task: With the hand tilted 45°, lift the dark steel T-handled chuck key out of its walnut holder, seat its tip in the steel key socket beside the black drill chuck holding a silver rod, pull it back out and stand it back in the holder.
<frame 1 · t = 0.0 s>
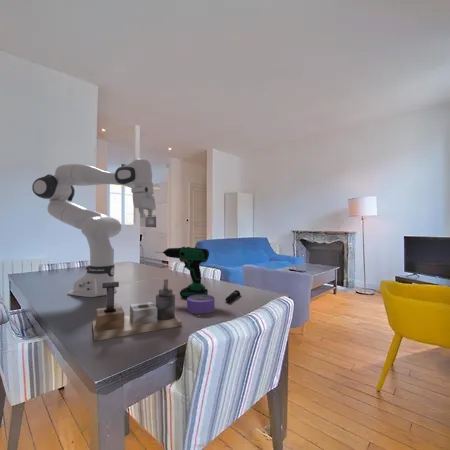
hand: (146, 218, 133), 39 cm above the table, tool pointing down, fingers open, 8 cm apart
tape roll: (200, 310, 112), on the table
chuck key: (109, 319, 89), point 3 cm above the table, touching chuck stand
electric trimmer: (233, 299, 129), on the table
power drill: (179, 296, 132), on the table
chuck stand: (137, 325, 93), on the table
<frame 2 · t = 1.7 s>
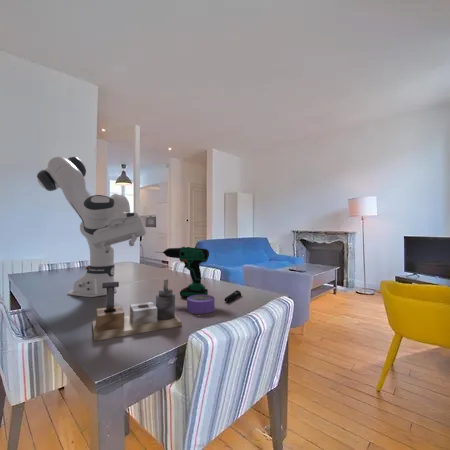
hand: (119, 248, 99), 27 cm above the table, tool tilted 45°, fingers open, 8 cm apart
nothing on the table moved.
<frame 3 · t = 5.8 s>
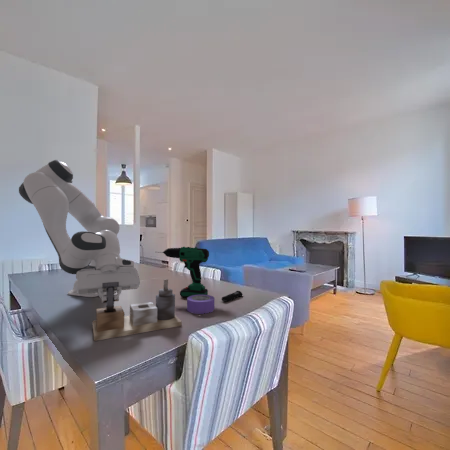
hand: (110, 301, 88), 10 cm above the table, tool tilted 45°, fingers closed on chuck key, 2 cm apart
chuck key: (109, 319, 89), point 4 cm above the table, touching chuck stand, gripper
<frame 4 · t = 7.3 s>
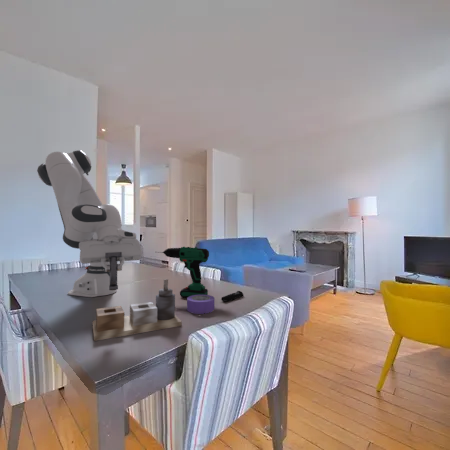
hand: (113, 270, 89), 20 cm above the table, tool tilted 45°, fingers closed on chuck key, 2 cm apart
chuck key: (113, 289, 89), point 14 cm above the table, touching gripper
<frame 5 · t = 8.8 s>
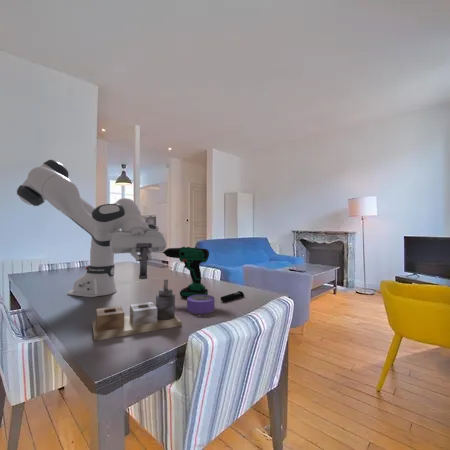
hand: (144, 259, 93), 23 cm above the table, tool tilted 45°, fingers closed on chuck key, 2 cm apart
chuck key: (143, 278, 94), point 17 cm above the table, touching gripper
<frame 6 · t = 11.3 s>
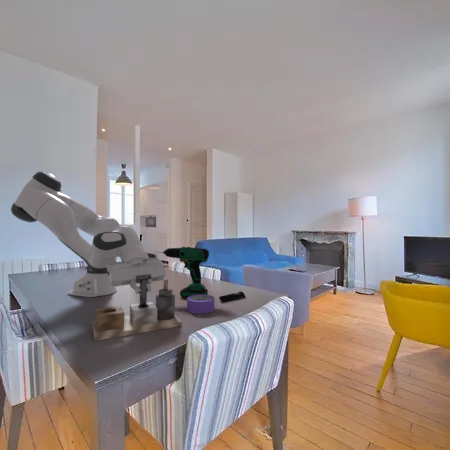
hand: (144, 291, 93), 12 cm above the table, tool tilted 45°, fingers closed on chuck key, 2 cm apart
chuck key: (142, 310, 94), point 5 cm above the table, touching gripper
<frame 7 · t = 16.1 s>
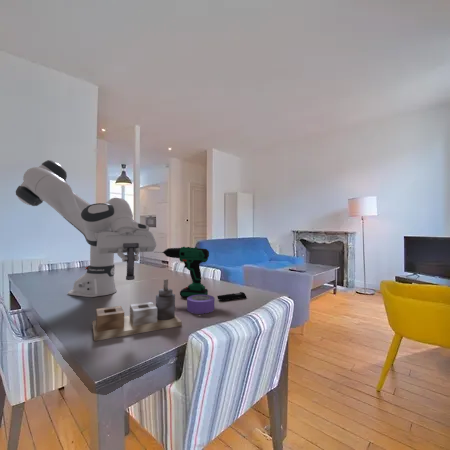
hand: (130, 260, 91), 23 cm above the table, tool tilted 45°, fingers closed on chuck key, 2 cm apart
chuck key: (130, 279, 91), point 17 cm above the table, touching gripper
when the fingers open (11 cm above the table, at t = 19.8 s): chuck key stays where it is, resting on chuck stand.
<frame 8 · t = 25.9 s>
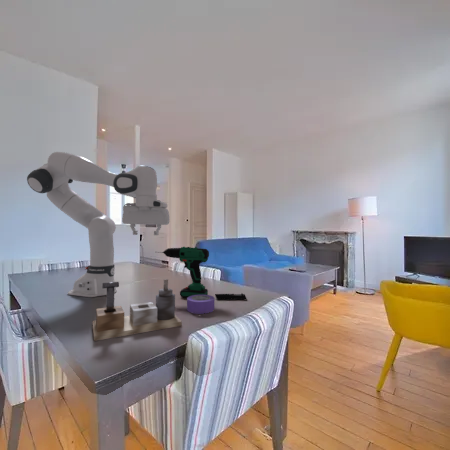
hand: (145, 235, 114), 31 cm above the table, tool pointing down, fingers open, 8 cm apart
chuck key: (109, 319, 89), point 4 cm above the table, touching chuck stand
at the end: chuck key 0.1 cm from the target spot, point 3.5 cm above the table; chuck key tilted 0°; the gripper is holding nothing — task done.
